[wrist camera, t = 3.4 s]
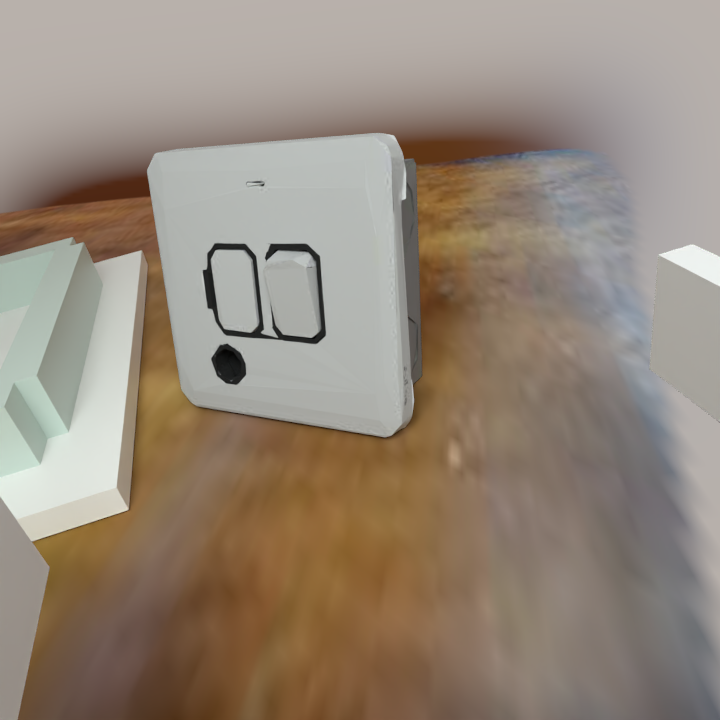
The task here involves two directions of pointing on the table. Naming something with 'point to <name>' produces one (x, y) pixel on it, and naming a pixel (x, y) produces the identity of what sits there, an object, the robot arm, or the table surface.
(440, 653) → the table surface
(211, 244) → the electrical switch
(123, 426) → the pocket tray
